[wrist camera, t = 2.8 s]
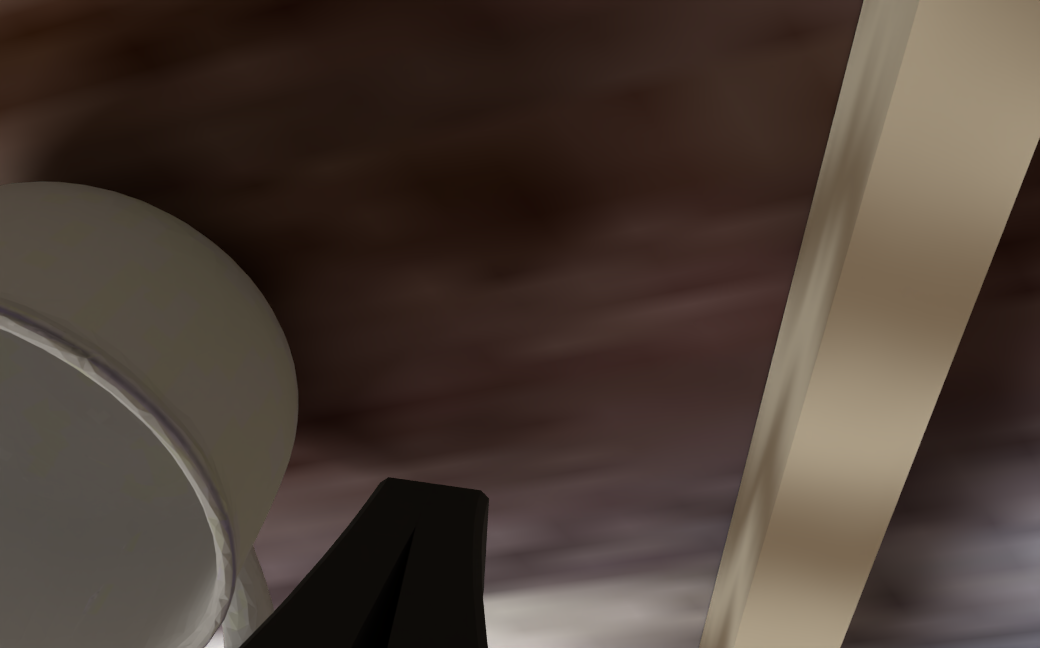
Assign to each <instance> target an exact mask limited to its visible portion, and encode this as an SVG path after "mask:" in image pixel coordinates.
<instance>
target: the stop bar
mask: <svg viewBox="0 0 1040 648" xmlns="http://www.w3.org/2000/svg"><path fill="white" fill-rule="evenodd" d="M1039 138H1040V0H864V2H863V6H862V9H861V13H860V17H859V21H858V25H857V29H856V33H855V37H854V41H853V45H852V49H851V53H850V57H849V61H848V64H847V68H846V72H845V76H844V80H843V84H842V88H841V92H840V96H839V100H838V104H837V108H836V112H835V115H834V119H833V123H832V127H831V131H830V135H829V139H828V143H827V147H826V151H825V155H824V159H823V163H822V167H821V170H820V174H819V178H818V182H817V186H816V190H815V194H814V198H813V202H812V206H811V210H810V214H809V218H808V222H807V225H806V229H805V233H804V237H803V241H802V245H801V249H800V253H799V257H798V261H797V265H796V269H795V273H794V277H793V280H792V284H791V288H790V292H789V296H788V300H787V304H786V308H785V312H784V316H783V320H782V324H781V328H780V332H779V335H778V339H777V343H776V347H775V351H774V355H773V359H772V363H771V367H770V371H769V375H768V379H767V383H766V387H765V390H764V394H763V398H762V402H761V406H760V410H759V414H758V418H757V422H756V426H755V430H754V434H753V438H752V442H751V445H750V449H749V453H748V457H747V461H746V465H745V469H744V473H743V477H742V481H741V485H740V489H739V493H738V497H737V500H736V504H735V508H734V512H733V516H732V520H731V524H730V528H729V532H728V536H727V540H726V544H725V548H724V551H723V555H722V559H721V563H720V567H719V571H718V575H717V579H716V583H715V587H714V591H713V595H712V599H711V603H710V606H709V610H708V614H707V618H706V622H705V626H704V630H703V634H702V638H701V642H700V646H699V648H840V647H841V645H842V642H843V640H844V637H845V634H846V632H847V629H848V627H849V624H850V622H851V619H852V616H853V614H854V611H855V609H856V606H857V604H858V601H859V599H860V596H861V593H862V591H863V588H864V586H865V583H866V581H867V578H868V576H869V573H870V570H871V568H872V565H873V563H874V560H875V558H876V555H877V553H878V550H879V547H880V545H881V542H882V540H883V537H884V535H885V532H886V529H887V527H888V524H889V522H890V519H891V517H892V514H893V512H894V509H895V506H896V504H897V501H898V499H899V496H900V494H901V491H902V489H903V486H904V483H905V481H906V478H907V476H908V473H909V471H910V468H911V466H912V463H913V460H914V458H915V455H916V453H917V450H918V448H919V445H920V443H921V440H922V437H923V435H924V432H925V430H926V427H927V425H928V422H929V419H930V417H931V414H932V412H933V409H934V407H935V404H936V402H937V399H938V396H939V394H940V391H941V389H942V386H943V384H944V381H945V379H946V376H947V373H948V371H949V368H950V366H951V363H952V361H953V358H954V356H955V353H956V350H957V348H958V345H959V343H960V340H961V338H962V335H963V332H964V330H965V327H966V325H967V322H968V320H969V317H970V315H971V312H972V309H973V307H974V304H975V302H976V299H977V297H978V294H979V292H980V289H981V286H982V284H983V281H984V279H985V276H986V274H987V271H988V269H989V266H990V263H991V261H992V258H993V256H994V253H995V251H996V248H997V245H998V243H999V240H1000V238H1001V235H1002V233H1003V230H1004V228H1005V225H1006V222H1007V220H1008V217H1009V215H1010V212H1011V210H1012V207H1013V205H1014V202H1015V199H1016V197H1017V194H1018V192H1019V189H1020V187H1021V184H1022V182H1023V179H1024V176H1025V174H1026V171H1027V169H1028V166H1029V164H1030V161H1031V159H1032V156H1033V153H1034V151H1035V148H1036V146H1037V143H1038V141H1039Z"/></svg>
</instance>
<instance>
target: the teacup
mask: <svg viewBox="0 0 1040 648" xmlns="http://www.w3.org/2000/svg"><path fill="white" fill-rule="evenodd" d="M297 421H298V386H297V379H296V372H295V365H294V362H293V358H292V355H291V351H290V348H289V345H288V342H287V340H286V337H285V334H284V332H283V330H282V328H281V326H280V324H279V322H278V320H277V318H276V316H275V314H274V312H273V310H272V309H271V307H270V305H269V304H268V302H267V301H266V299H265V297H264V296H263V294H262V293H261V292H260V290H259V289H258V288H257V286H256V285H255V284H254V282H253V281H252V280H251V279H250V277H249V276H248V275H247V274H246V273H245V272H244V271H243V270H242V269H241V268H240V267H239V266H238V265H237V264H236V263H235V261H234V260H233V259H232V258H231V257H230V256H229V255H227V254H226V253H225V252H224V251H223V250H221V249H220V248H219V247H218V246H217V245H216V244H214V243H213V242H212V241H211V240H209V239H208V238H207V237H205V236H204V235H202V234H201V233H200V232H198V231H197V230H195V229H194V228H192V227H191V226H190V225H188V224H187V223H185V222H183V221H181V220H180V219H178V218H176V217H174V216H172V215H170V214H169V213H167V212H165V211H163V210H160V209H158V208H156V207H154V206H152V205H150V204H148V203H146V202H144V201H141V200H138V199H135V198H132V197H129V196H126V195H124V194H121V193H118V192H115V191H110V190H106V189H101V188H97V187H92V186H88V185H81V184H73V183H65V182H45V181H38V182H24V183H11V184H5V185H0V648H204V647H205V646H206V645H207V644H208V643H209V641H210V640H211V638H212V637H213V635H214V634H215V632H216V631H217V630H218V628H219V627H220V625H221V624H222V627H223V637H224V648H239V647H240V646H241V645H242V644H243V643H244V642H245V641H246V640H247V639H248V638H249V637H250V636H251V635H252V634H253V632H254V631H255V630H256V629H257V628H258V627H259V626H260V625H261V624H262V623H263V622H264V621H265V620H266V619H267V618H268V617H269V616H270V615H271V614H272V613H273V612H274V608H273V604H272V600H271V597H270V594H269V590H268V587H267V584H266V580H265V577H264V575H263V572H262V569H261V566H260V564H259V561H258V558H257V555H256V553H255V550H254V547H253V544H254V542H255V540H256V538H257V535H258V533H259V531H260V529H261V527H262V525H263V523H264V521H265V519H266V517H267V514H268V512H269V510H270V508H271V505H272V503H273V501H274V498H275V496H276V494H277V491H278V489H279V487H280V484H281V482H282V479H283V476H284V473H285V471H286V468H287V465H288V462H289V460H290V456H291V452H292V448H293V444H294V440H295V436H296V428H297Z"/></svg>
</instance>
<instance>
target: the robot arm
mask: <svg viewBox="0 0 1040 648" xmlns="http://www.w3.org/2000/svg"><path fill="white" fill-rule="evenodd" d="M488 506H489V498H488V497H487V496H486V495H485V494H484V493H483V492H482V491H481V490H474V489H467V488H460V487H453V486H446V485H439V484H432V483H425V482H418V481H411V480H403V479H396V478H389V477H388V478H387V479H385V480H384V481H382V482H381V483H380V484H379V485H378V487H377V488H376V489H375V491H374V492H373V494H372V495H371V496H370V498H369V499H368V500H367V502H366V503H365V505H364V506H363V507H362V509H361V510H360V511H359V513H358V514H357V515H356V516H355V518H354V519H353V520H352V522H351V523H350V524H349V525H348V527H347V528H346V529H345V530H344V532H343V533H342V534H341V535H340V537H339V538H338V539H337V540H336V541H335V543H334V544H333V545H332V546H331V548H330V549H329V550H328V551H327V552H326V554H325V555H324V556H323V557H322V558H321V559H320V561H319V562H318V563H317V564H316V565H315V566H314V567H313V569H312V570H311V571H310V572H309V573H308V574H307V575H306V577H305V578H304V579H303V580H302V581H301V582H300V583H299V585H298V586H297V587H296V588H295V589H294V590H293V591H292V593H291V594H290V595H289V596H288V597H287V598H286V599H285V600H284V601H283V602H282V604H281V605H280V606H279V607H278V608H277V609H276V610H275V611H274V612H273V613H272V614H271V615H270V616H269V617H268V618H267V619H266V620H265V621H264V622H263V623H262V624H261V625H260V626H259V627H258V628H257V629H256V630H255V631H254V632H253V634H252V635H251V636H250V637H249V638H248V639H247V640H246V641H245V642H244V643H243V644H242V645H241V646H240V647H239V648H488V645H487V635H486V625H485V615H484V604H483V592H484V574H485V557H486V540H487V523H488Z"/></svg>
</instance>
